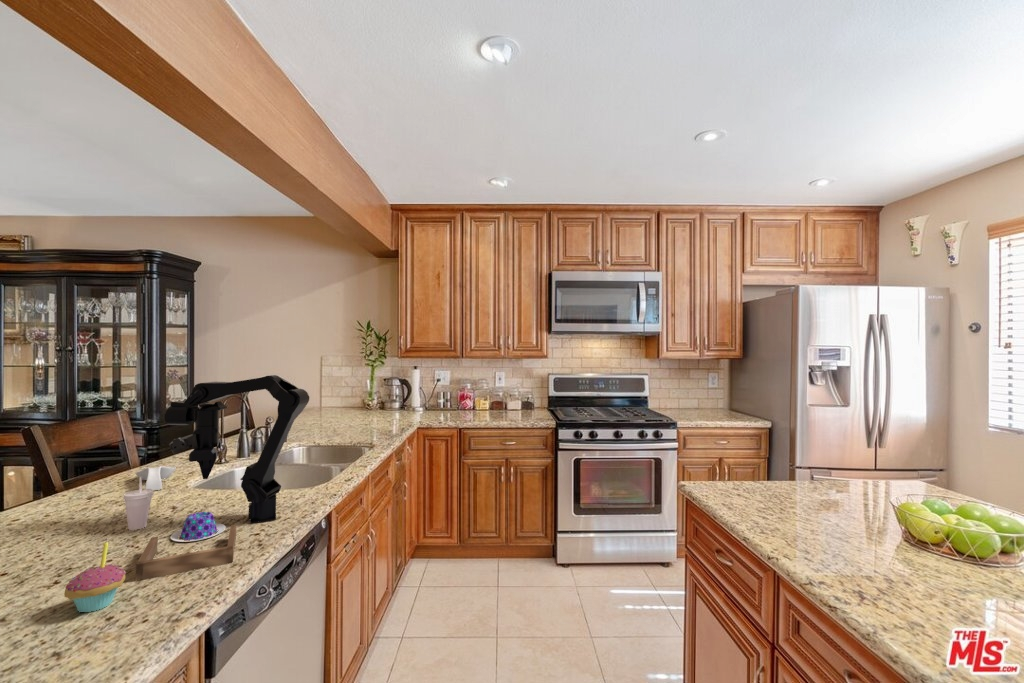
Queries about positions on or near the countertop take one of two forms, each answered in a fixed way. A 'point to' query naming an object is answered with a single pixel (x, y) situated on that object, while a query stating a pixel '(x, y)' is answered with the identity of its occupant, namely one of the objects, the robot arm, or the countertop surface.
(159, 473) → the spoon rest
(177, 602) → the countertop surface
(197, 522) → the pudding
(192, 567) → the bay
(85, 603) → the cupcake
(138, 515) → the smoothie
